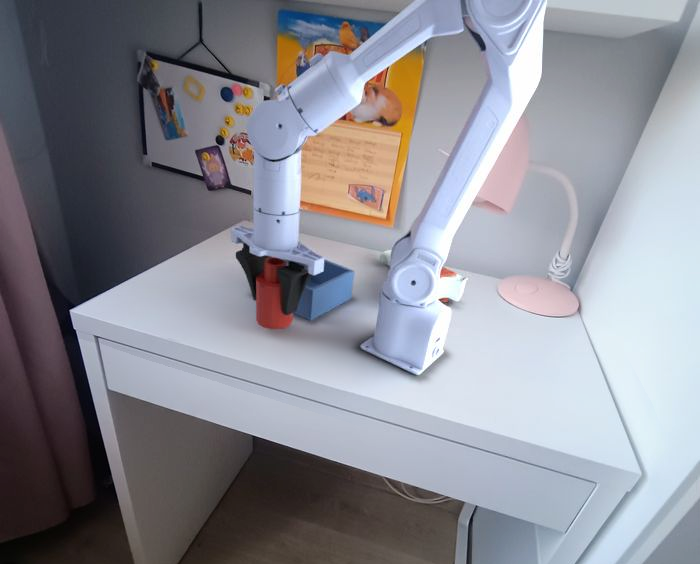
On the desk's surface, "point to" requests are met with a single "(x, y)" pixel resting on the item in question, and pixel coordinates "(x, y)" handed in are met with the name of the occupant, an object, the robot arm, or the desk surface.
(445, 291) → the tape dispenser
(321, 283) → the tub
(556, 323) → the desk surface
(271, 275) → the bottle
